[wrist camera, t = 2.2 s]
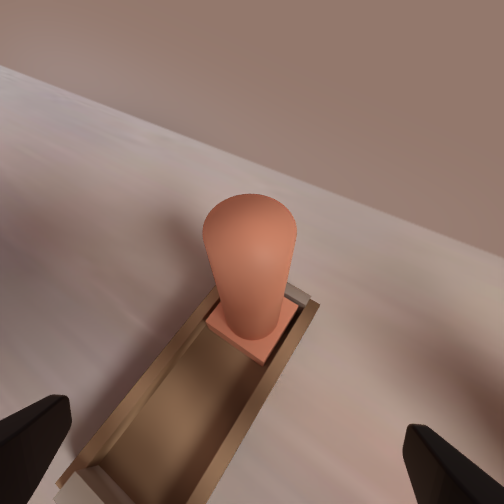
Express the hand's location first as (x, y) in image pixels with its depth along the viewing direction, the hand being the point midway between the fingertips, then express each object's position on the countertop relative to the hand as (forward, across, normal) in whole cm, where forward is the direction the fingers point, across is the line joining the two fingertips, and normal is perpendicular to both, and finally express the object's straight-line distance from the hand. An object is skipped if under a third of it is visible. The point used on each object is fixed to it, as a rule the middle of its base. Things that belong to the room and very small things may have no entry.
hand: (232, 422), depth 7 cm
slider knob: (+13, 0, +4) cm, 13 cm away
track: (+10, +3, +8) cm, 13 cm away
